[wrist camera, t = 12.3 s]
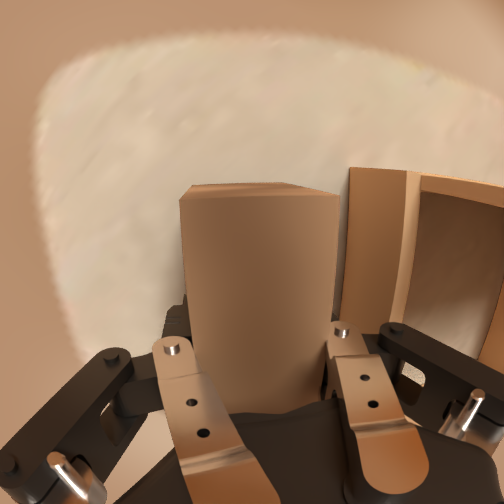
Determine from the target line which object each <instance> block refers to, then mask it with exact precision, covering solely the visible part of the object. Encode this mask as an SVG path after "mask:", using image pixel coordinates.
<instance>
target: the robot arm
mask: <svg viewBox="0 0 504 504" xmlns="http://www.w3.org/2000/svg"><path fill="white" fill-rule="evenodd" d="M325 358H326V361H325V367H324V373H323V380H322V385H321V386H319V391H318V401H317V402H312V403H310V404H307V405H305V406H302V407H300V408H297V409H295V410H292V411H289V412H287V413H284V414H266V413H249V412H244V413H234V414H228V413H227V411H226V409H225V407H224V405H223V403H222V401H221V399H220V397H219V395H218V393H217V391H216V389H215V387H214V384H213V382H212V380H211V378H210V376H209V374H208V372H207V371H204V372H203V371H202V369H201V366H200V364H199V362H198V359H197V357H196V355H195V354H194V348H193V341H192V333H191V326H190V318H189V309H188V301H187V294H184V300H183V305H174V306H172V307H171V308H170V309H169V310H168V311H167V315H166V320H165V324H164V329H163V333H162V338H161V339H159V340H158V341H156V342H155V343H154V344H153V346H152V352H151V353H149V354H146V355H143V356H138V357H133V358H131V355H130V353H129V352H128V351H127V350H125V349H123V348H117V347H115V348H108V349H105V350H102V351H100V352H99V353H98V354H96V355H95V356H94V357H93V358H92V359H91V360H90V361H89V362H88V363H87V364H86V365H85V366H84V367H83V368H82V369H81V370H80V371H79V372H78V373H76V374H75V375H74V376H73V377H72V378H71V379H70V380H69V381H68V382H67V383H66V384H65V385H64V386H63V387H62V388H61V389H60V390H59V391H58V392H57V393H56V394H55V395H54V396H53V397H52V398H51V399H50V400H49V401H48V402H47V403H46V404H45V405H44V406H43V407H42V408H41V409H40V410H39V411H38V412H37V413H36V414H35V415H34V416H33V417H32V418H31V419H30V420H29V421H28V422H27V423H26V424H25V425H24V426H23V427H22V428H21V429H20V430H19V431H18V432H17V433H16V434H15V435H14V436H13V437H12V438H11V439H10V440H9V441H8V442H7V444H6V445H5V446H4V447H3V448H2V449H1V450H0V487H1V488H2V489H4V491H6V492H7V493H8V494H9V495H10V496H11V498H12V499H13V500H14V501H15V502H17V503H18V504H105V503H106V500H107V491H106V488H105V486H104V485H103V484H104V482H105V481H106V479H107V478H108V476H109V475H110V473H111V471H112V470H113V468H114V467H115V465H116V464H117V462H118V461H119V459H120V458H121V456H122V455H123V453H124V452H125V450H126V449H127V447H128V446H129V444H130V442H131V441H132V440H133V438H134V436H135V435H136V433H137V432H138V430H139V429H140V427H141V426H142V424H143V423H144V421H145V420H146V418H147V416H148V413H150V412H154V411H158V410H162V409H164V410H165V414H166V418H167V421H168V425H169V429H170V432H171V436H172V440H173V443H174V446H175V447H174V448H173V449H172V450H171V451H170V452H169V453H168V454H167V455H166V456H165V457H164V458H163V459H162V460H160V461H159V462H158V463H157V464H156V465H155V466H154V467H153V468H152V469H151V470H150V471H149V472H148V473H147V474H146V475H145V476H143V477H142V478H141V479H140V480H139V481H138V482H137V483H136V484H135V485H134V486H132V487H131V488H130V489H129V490H128V491H127V492H126V493H125V494H123V495H122V496H121V497H120V498H119V499H118V500H116V501H115V502H114V503H113V504H504V498H503V496H502V493H501V490H500V486H499V481H498V474H497V468H496V465H495V463H494V461H493V459H492V458H491V456H492V455H493V453H494V451H495V450H496V448H497V446H498V444H499V443H500V441H501V440H502V439H503V437H504V374H502V373H500V372H498V371H496V370H494V369H492V368H490V367H488V366H486V365H485V364H483V363H481V362H479V361H477V360H475V359H473V358H471V357H469V356H467V355H465V354H463V353H461V352H459V351H457V350H455V349H453V348H451V347H449V346H447V345H445V344H443V343H441V342H439V341H437V340H435V339H433V338H431V337H429V336H427V335H425V334H423V333H421V332H419V331H417V330H415V329H413V328H411V327H409V326H407V325H405V324H402V323H399V322H387V323H384V324H382V325H381V326H380V329H379V334H361V332H360V330H359V328H358V327H357V326H356V325H354V324H352V323H350V322H346V321H340V320H339V319H338V318H337V317H336V315H335V314H334V313H333V312H332V315H331V324H330V332H329V339H328V340H326V344H325ZM405 362H407V363H409V364H411V365H412V366H414V367H416V368H417V369H419V370H421V371H422V372H423V373H424V375H425V379H426V380H425V384H424V386H421V385H419V384H418V383H416V382H414V381H413V380H411V379H410V378H408V377H406V376H405V375H403V374H401V373H402V370H403V367H404V364H405ZM108 403H110V405H109V406H108V407H107V408H106V410H105V411H104V412H103V413H102V415H101V412H102V410H103V409H104V408H105V406H106V405H107V404H108ZM100 415H101V416H100ZM404 415H406V416H407V417H409V418H410V419H411V420H413V421H414V422H416V423H417V424H419V425H420V426H418V425H416V424H413V423H411V422H408V421H407V420H406V418H405V416H404ZM421 426H422V427H421Z"/></svg>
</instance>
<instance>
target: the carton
mask: <svg viewBox="0 0 504 504" xmlns="http://www.w3.org/2000/svg"><path fill="white" fill-rule="evenodd" d="M420 192H425V193H438V194H446V195H450V196H455V197H460V198H464V199H469V200H473V201H478V202H482V203H486V204H490V205H494V206H498V207H502V208H504V186H500V185H495V184H490V183H485V182H480V181H474V180H468V179H462V178H456V177H450V176H443V175H436V174H428V173H421V172H412V171H403V170H390V169H376V168H358V167H350V188H349V216H348V234H347V248H346V261H345V272H344V283H343V292H342V301H341V309H340V317H339V320H340V321H346V322H350V323H352V324H354V325H356V326H357V327H358V328H359V330H360V332H361V334H379V329H380V326H381V325H382V324H384V323H387V322H399V323H402V320H403V316H404V311H405V307H406V302H407V297H408V291H409V286H410V280H411V274H412V268H413V261H414V254H415V247H416V239H417V229H418V219H419V206H420ZM477 361H479V362H481V363H483V364H485V365H486V366H488V367H490V368H492V369H494V370H496V371H498V372H500V373H502V374H504V280H503V284H502V288H501V292H500V296H499V299H498V303H497V306H496V310H495V313H494V316H493V319H492V323H491V326H490V328H489V331H488V334H487V337H486V340H485V342H484V345H483V348H482V350H481V353H480V355H479V358H478V360H477ZM424 384H425V383H424ZM424 384H422V385H421V386H424ZM404 416H405V418H406V420H407V421H408V422H411V423H413V424H416V425H418V426H420V425H419V424H417V423H416V422H414V421H413V420H411V419H410V418H409V417H407V416H406V415H404ZM421 427H422V426H421Z"/></svg>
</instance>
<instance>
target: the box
mask: <svg viewBox="0 0 504 504" xmlns="http://www.w3.org/2000/svg"><path fill="white" fill-rule="evenodd" d="M179 204H180V221H181V236H182V249H183V261H184V272H185V282H186V292H187V301H188V309H189V318H190V326H191V333H192V341H193V348H194V354H195V355H196V357H197V359H198V362H199V364H200V366H201V369H202V371H203V372H204V371H207V372H208V374H209V376H210V378H211V380H212V382H213V384H214V387H215V389H216V391H217V393H218V395H219V397H220V399H221V401H222V403H223V405H224V407H225V409H226V411H227V413H228V414H234V413H244V412H249V413H266V414H284V413H287V412H289V411H292V410H295V409H297V408H300V407H302V406H305V405H307V404H310V403H312V402H317V401H318V391H319V386H321V385H322V380H323V373H324V367H325V361H326V358H325V344H326V340H328V339H329V332H330V324H331V315H332V306H333V297H334V287H335V275H336V263H337V249H338V233H339V211H340V196H339V195H335V194H331V193H327V192H323V191H318V190H314V189H310V188H305V187H301V186H296V185H292V184H287V183H232V184H208V185H192V186H191V187H190V188H189V189H188V191H187V192H186V193H185V194H184V195H183V196H182V197H181V198H180V200H179Z"/></svg>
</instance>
